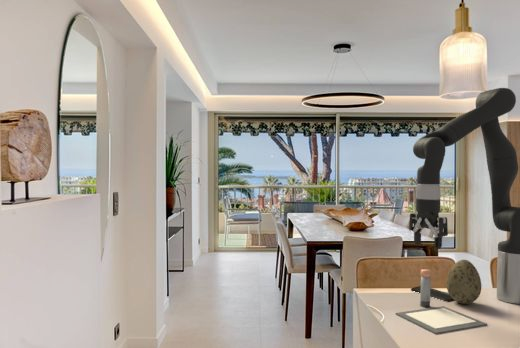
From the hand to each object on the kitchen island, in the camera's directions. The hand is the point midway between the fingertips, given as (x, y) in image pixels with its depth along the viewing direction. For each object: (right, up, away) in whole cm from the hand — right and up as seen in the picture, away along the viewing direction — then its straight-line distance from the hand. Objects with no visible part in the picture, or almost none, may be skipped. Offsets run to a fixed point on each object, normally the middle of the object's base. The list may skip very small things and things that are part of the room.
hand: (427, 246), depth 132 cm
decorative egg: (+14, -21, +4) cm, 25 cm away
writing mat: (-1, -20, -11) cm, 23 cm away
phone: (+8, -21, +14) cm, 26 cm away
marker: (0, -20, +1) cm, 20 cm away
